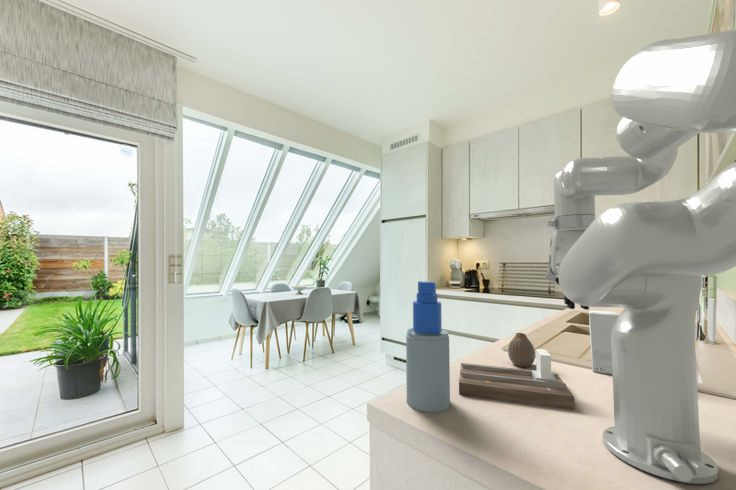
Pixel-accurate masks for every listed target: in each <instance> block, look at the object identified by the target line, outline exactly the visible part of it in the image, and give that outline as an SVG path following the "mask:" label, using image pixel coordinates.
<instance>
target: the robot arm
mask: <svg viewBox="0 0 736 490" xmlns="http://www.w3.org/2000/svg"><path fill="white" fill-rule="evenodd" d="M610 99H611V100H610V101H611V106H612V109H613V110H614V112H615V113H616V114H618V115H619V116H620V117H622V118H621V119H620V120H619V122H618V124H617V126H616V130H615V136H616V140H617V144H618V145H619V147H620V148H621V149H622V150H623V151H624V152H625V153H626V154H628V155H623V156H622V155H621V156H620V155H619V156H618V155H617V156H598V157H597V156H596V157H581V158H579V157H578V158H575V159H572V160H570V161H569V162H568V163H566V165H565V166H564V168H563V169H562V170H560V171H558V172H557V173H556V174H555V175H554V177H553V198H554V218H553V219H552V220H548V221H547V226H548V227H551V228H553V229H554V231H552V232H551V236H550V242H549V243H550V244H549V254H548V255H549V256H548V269H547V271H546V272H545V275H544V278H545V279H546V280H549V281H552V282H555V283H556V284H558V285H559V287H560V290H561V291H562V293H563V302H564V305H566V308H568V309H570V310H574V309H576V304H577V305H580V308H581V309H583V310H589V309H590V307H591V308H592V307H593V308H623V309H622V311H621V312H620V313H619V314H618V318H617V319H616V321H615V323H614V325H613V328H612V333H611V350H612V393H613V395H612V396H613V417H614V421H613V422H614V425H612V426H609V427H606V429H604V431H602V440H603V441H602V442H603V444H604V446H605V447H606V448H607V450H609V451H610V452H611V453H612V454H613V455H615V457H618V458H619V459H621V460H622V461H623V462H625V463H627V464H628V465H631V466H632V467H634V468H637V469H639V470H642V471H643V472H646V473H649V474H652V475H654V476H656V477H660V478H663V479H666V480H671V481H675V482H679V483H685V484H694V485H703V484H705V485H707V484H709V483H714V482H715V481H717V480H718V478H719V469H718V465H717V463H716V462H715V460H714V459H712V457H710V456H709V455H708V454H707V453H705V452H704V451H702V450H701V434H700V433H701V431H700V417H699V416H700V414H699V399H698V396H699V395H698V377H697V359H696V357H697V356H696V317H697V315H696V314H697V310H698V305H699V300H700V296H701V292H702V285H703V277H702V276H710V275H716V274H720V273H723V272H727V271H729V270H730V269H733V268H735V267H736V161H734V162H732V163H731V164H729V165H728V166H726V167H725V168H724V169H722V170H721V171H720V172H718V173H717V174H716V175H715V176H714V177H713V178H712V179H711V180H710V181H709V182H708V183H706V184H705V185H704V186H703V187H702V188H700V189H699V190H697V191H696V192H695V193H693V194H692V195H690V196H688V197H685V198H681V199H675V200H664V201H638V202H637V201H634V202H627V203H621V204H618V205H617V204H616V205H614V206H612V207H609V208H608V209H606V210H604V211H602V212H601V213H600V214H599V215H598V216H596V202H595V201H596V200H595V197H596V196H626V195H627V196H628V195H632V194H636V193H639V192H640V191H641V192H642V191H643V190H645V189H647V188H649V187H650V186H652V185H654V184H656V183H657V182H659V181H661V180H662V179H663V178H665V177H666V176H667V175H668V174H669V172H670V171H671V169H672V168H673V166H674V164H675V162H676V160H677V156H678V152H679V151H678V149H679V147H680V146H682V145H684V144H685V143H687V142H688V141H689V140H691V139H692V138H694V137H695V136H697V135H698V134H700V133H707V134H709V133H710V134H716V133H717V134H729V133H736V29H731V30H724V31H718V32H713V33H707V34H701V35H700V34H699V35H694V36H693V35H692V36H687V37H681V38H671V39H662V40H657V41H654V42H652V43H649V44H647V45H645V46H644V47H641V48H640V49H639V50H637V52H635V53H634V54H633V55H632V56H631V57H630V58H629V59H628V60H627V61H626V62H625V64H624V65H623V66H622V67H621V69H619V72H618V73H617V75H616V78H615V79H614V81H613V85H612V88H611V94H610ZM589 311H590V310H589Z"/></svg>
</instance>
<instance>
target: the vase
mask: <svg viewBox="0 0 736 490" xmlns="http://www.w3.org/2000/svg"><path fill="white" fill-rule="evenodd" d="M507 352H508V353H507V355H508V358H509V360H510V362H511V363H512V364H513V365H514V366H516V367H520V368H530V367H531V366H532V365H533V364H534V362H535V361H536V349H535V346H534V344H533V343H532V342H531V340H530V339H529V338H528V336H527V334H526V333H524V332H517V333H515V335H514V337H513V338H512V339H511V341H510V342H509V344H508V347H507Z"/></svg>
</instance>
